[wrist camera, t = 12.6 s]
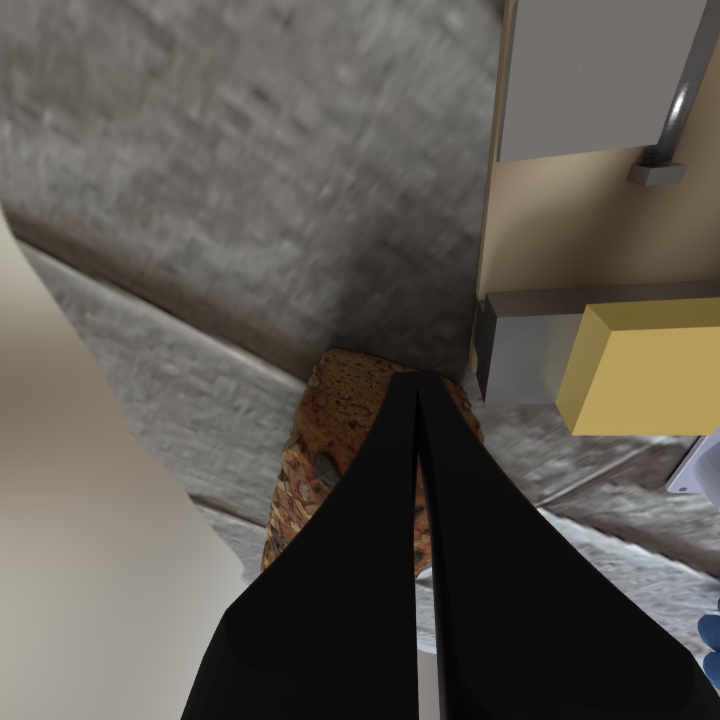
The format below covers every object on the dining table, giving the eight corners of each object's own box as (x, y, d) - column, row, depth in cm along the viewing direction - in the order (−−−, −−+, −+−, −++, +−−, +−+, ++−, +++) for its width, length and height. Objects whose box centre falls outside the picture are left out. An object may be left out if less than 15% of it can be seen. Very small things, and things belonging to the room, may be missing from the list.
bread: (321, 333, 21) (272, 469, 13) (478, 378, 22) (521, 532, 14) (282, 488, 32) (243, 612, 24) (387, 514, 33) (383, 642, 25)
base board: (961, -130, 9) (1002, -147, 9) (683, 358, 19) (692, 367, 19) (509, -42, 11) (515, -51, 10) (468, 364, 21) (470, 372, 20)
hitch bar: (997, -137, 9) (1518, -352, 5) (707, 344, 19) (799, 414, 14) (509, -42, 11) (577, -137, 7) (469, 351, 20) (487, 416, 16)
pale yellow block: (682, 261, 15) (795, 323, 11) (637, 357, 18) (711, 435, 14) (554, 270, 16) (612, 330, 12) (532, 360, 19) (571, 435, 15)
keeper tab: (741, -61, 10) (769, -74, 9) (661, 158, 13) (678, 160, 12) (514, -21, 11) (523, -30, 10) (493, 177, 14) (498, 180, 13)
